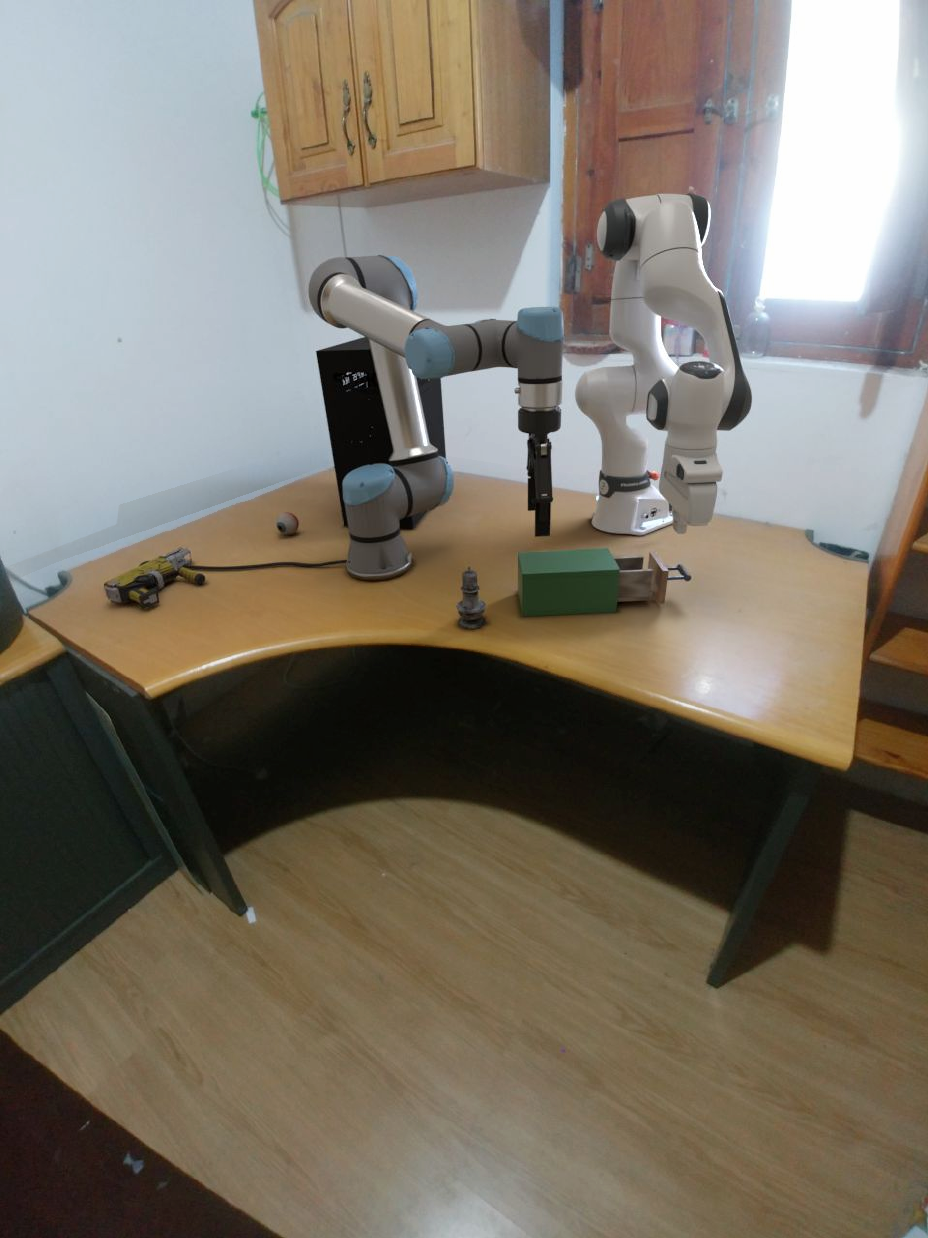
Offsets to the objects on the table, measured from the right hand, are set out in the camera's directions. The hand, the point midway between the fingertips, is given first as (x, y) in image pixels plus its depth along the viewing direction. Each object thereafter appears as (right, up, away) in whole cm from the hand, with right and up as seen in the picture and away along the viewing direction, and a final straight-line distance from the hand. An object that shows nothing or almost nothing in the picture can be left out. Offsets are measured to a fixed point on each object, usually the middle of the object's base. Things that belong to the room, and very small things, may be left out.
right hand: (678, 531), depth 116 cm
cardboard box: (-61, +17, +65) cm, 91 cm away
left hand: (-27, +2, -1) cm, 27 cm away
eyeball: (-89, +6, +49) cm, 102 cm away
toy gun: (-110, -9, +24) cm, 113 cm away
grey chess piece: (-40, -18, +3) cm, 44 cm away
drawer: (-8, -12, +7) cm, 16 cm away
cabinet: (-21, -13, +8) cm, 26 cm away
